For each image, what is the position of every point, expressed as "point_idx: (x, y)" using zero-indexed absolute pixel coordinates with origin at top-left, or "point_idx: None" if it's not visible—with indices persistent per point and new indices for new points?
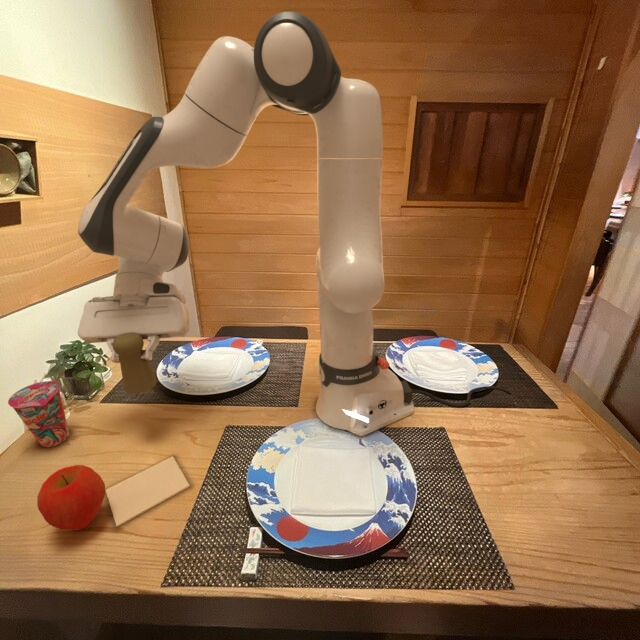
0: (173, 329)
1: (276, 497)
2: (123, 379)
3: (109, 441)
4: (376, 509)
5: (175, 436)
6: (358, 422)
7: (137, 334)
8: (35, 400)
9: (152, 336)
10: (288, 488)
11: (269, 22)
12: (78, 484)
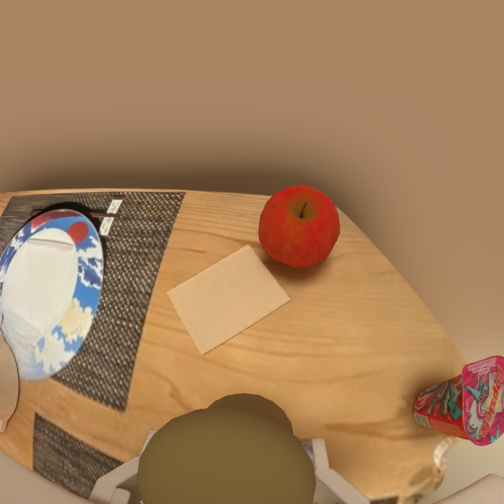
0: (2, 460)
1: (78, 264)
2: (279, 414)
3: (337, 407)
4: (25, 243)
5: None
6: None
7: None
8: (482, 378)
9: (103, 501)
10: (66, 273)
11: None
12: (276, 197)
